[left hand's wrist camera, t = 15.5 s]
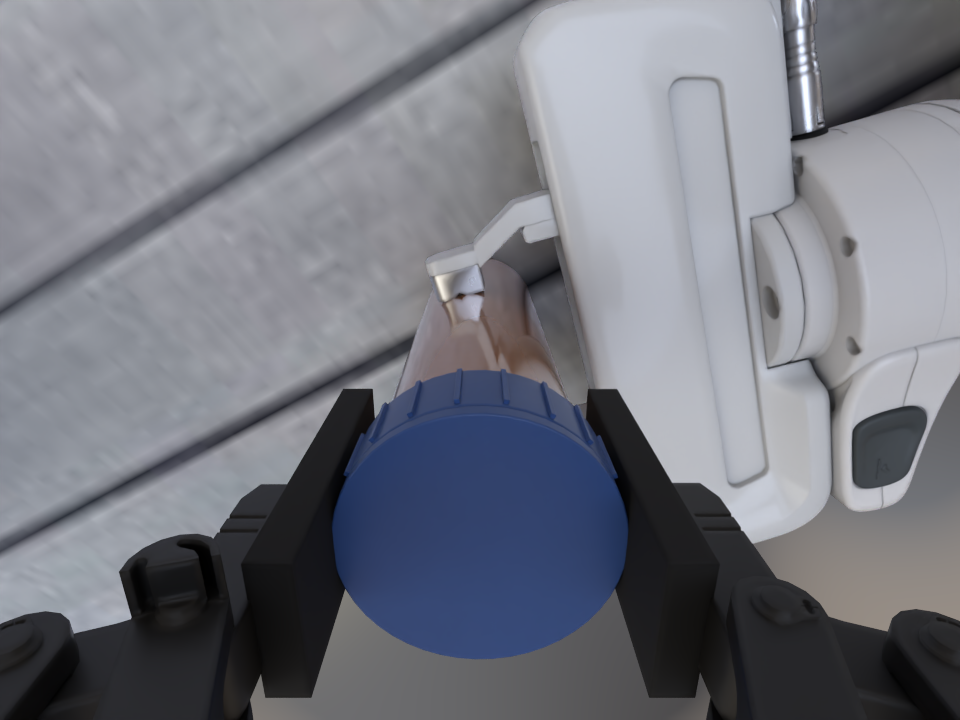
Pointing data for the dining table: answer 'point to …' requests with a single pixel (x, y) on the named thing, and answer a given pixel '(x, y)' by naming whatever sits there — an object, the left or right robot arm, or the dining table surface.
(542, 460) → the lid
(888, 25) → the dining table surface
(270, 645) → the left robot arm
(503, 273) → the jar
